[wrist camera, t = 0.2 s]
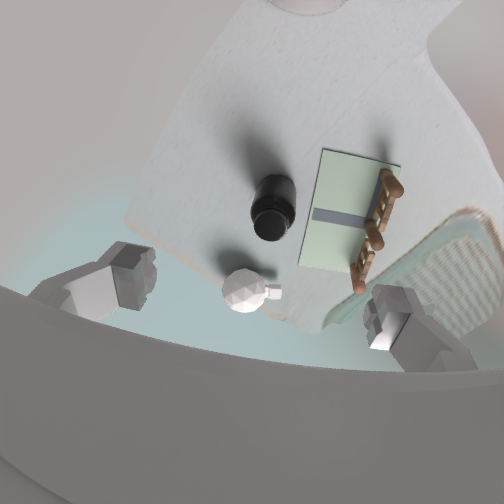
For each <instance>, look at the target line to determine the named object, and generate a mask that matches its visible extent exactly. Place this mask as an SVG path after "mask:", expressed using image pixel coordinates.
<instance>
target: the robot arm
mask: <svg viewBox="0 0 504 504" xmlns="http://www.w3.org/2000/svg"><path fill="white" fill-rule="evenodd" d="M268 1H270V2H271V3H272V4H274V5H275V6H277V7H279V8H281V9H283V10H285V11H288V12H291V13H295V14H301V15H318V14H323V13H327V12H330V11H332V10H334V9H336V8H338V7H339V6H341V5H342V4H343V3H344V2H345V1H346V0H268ZM154 260H155V250H154V249H153V248H152V247H147V246H142V245H137V244H131V243H127V242H120V241H117V242H115V243H114V244H113V245H112V246H111V247H110V248H109V249H108V251H106V252H105V253H104V254H103V255H102V256H101V258H99V260H98V261H97V262H90V263H87V264H85V265H82V266H80V267H77V268H74V269H71V270H69V271H66V272H64V273H61V274H58V275H56V276H54V277H51V278H48V279H46V280H43V281H42V282H41V283H40V284H39V285H38V286H37V287H36V288H35V289H34V290H33V291H32V292H31V293H30V294H29V295H28V296H27V297H26V296H24V295H22V294H19V293H17V292H14V291H12V290H9V289H7V288H5V287H3V286H1V285H0V504H504V368H497V369H486V370H478V367H477V365H476V363H475V360H474V359H473V356H472V354H471V351H470V350H469V349H468V348H467V347H466V346H465V345H463V344H462V343H461V342H460V341H459V340H458V339H457V338H456V337H454V336H453V335H452V334H451V333H450V332H448V331H447V330H446V329H445V328H444V327H443V326H441V325H440V324H439V323H438V322H437V321H435V320H434V319H433V318H432V317H431V316H429V315H426V314H425V312H424V310H423V307H422V305H421V303H420V301H419V299H418V297H417V295H416V293H415V291H414V289H413V288H411V287H401V286H391V285H383V284H376V285H375V286H374V288H373V290H372V292H371V293H372V296H373V298H372V299H371V300H370V301H368V302H367V304H366V307H365V310H364V316H363V318H364V319H363V321H364V326H365V327H366V328H367V329H368V330H369V331H368V333H367V340H368V344H369V348H371V349H381V350H390V353H391V354H392V355H393V357H394V358H395V359H396V360H397V361H398V363H399V364H400V365H401V367H402V368H403V369H404V371H405V372H381V371H380V372H379V371H360V370H345V369H333V368H322V367H312V366H303V365H295V364H286V363H279V362H272V361H265V360H258V359H251V358H246V357H239V356H234V355H229V354H223V353H218V352H213V351H208V350H203V349H198V348H193V347H189V346H184V345H180V344H175V343H172V342H167V341H163V340H159V339H155V338H151V337H147V336H144V335H140V334H136V333H133V332H129V331H126V330H122V329H119V328H115V327H112V326H108V325H105V324H102V323H99V322H97V321H99V320H101V319H102V318H104V317H105V316H107V315H109V314H110V313H112V312H113V311H115V310H116V309H118V308H119V307H124V308H128V309H132V310H137V311H140V310H141V308H142V306H143V305H144V303H145V302H146V300H147V298H146V294H148V293H150V292H152V290H153V288H154V286H155V283H156V278H157V270H156V267H155V266H154V264H153V263H152V262H153V261H154Z"/></svg>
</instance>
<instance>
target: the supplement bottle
mask: <svg viewBox="0 0 504 504" xmlns="http://www.w3.org/2000/svg"><path fill="white" fill-rule="evenodd" d="M250 214H251V219H252V221H253V223H254V230H255V232H256V234H257V235H258V236H259V237H260V238H261V239H263V240H266V241H270V242H271V241H277V240H280V239H282V238H283V237H284V236H285V234H286V232H287V230H288V229H289V228H290V227H291V226H292V224H293V223H294V220H295V215H296V189H295V186H294V184H293V183H292V181H291V180H290V179H288V178H287V177H285V176H282V175H269V176H267V177H265V178H264V179H262V180H261V182H260V183H259V185H258V187H257V190H256V193H255V197H254V200H253V203H252V206H251V212H250Z"/></svg>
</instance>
